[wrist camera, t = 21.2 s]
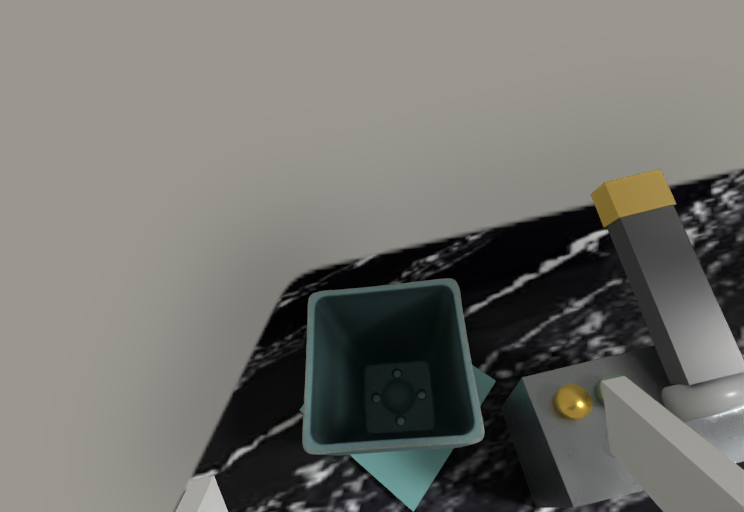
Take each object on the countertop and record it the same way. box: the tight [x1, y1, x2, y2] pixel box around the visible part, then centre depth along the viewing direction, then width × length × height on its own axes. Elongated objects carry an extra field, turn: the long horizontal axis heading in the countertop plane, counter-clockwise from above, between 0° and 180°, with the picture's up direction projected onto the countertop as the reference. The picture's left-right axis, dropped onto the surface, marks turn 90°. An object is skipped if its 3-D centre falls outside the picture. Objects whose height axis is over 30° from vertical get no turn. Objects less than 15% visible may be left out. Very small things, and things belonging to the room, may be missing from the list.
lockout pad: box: [300, 365, 496, 512], centre depth 30 cm, size 10×10×1 cm
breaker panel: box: [501, 346, 744, 507], centre depth 23 cm, size 6×11×9 cm, turn 102°
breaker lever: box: [591, 169, 744, 422], centre depth 21 cm, size 2×4×12 cm
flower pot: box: [302, 278, 484, 455], centre depth 26 cm, size 9×9×9 cm
